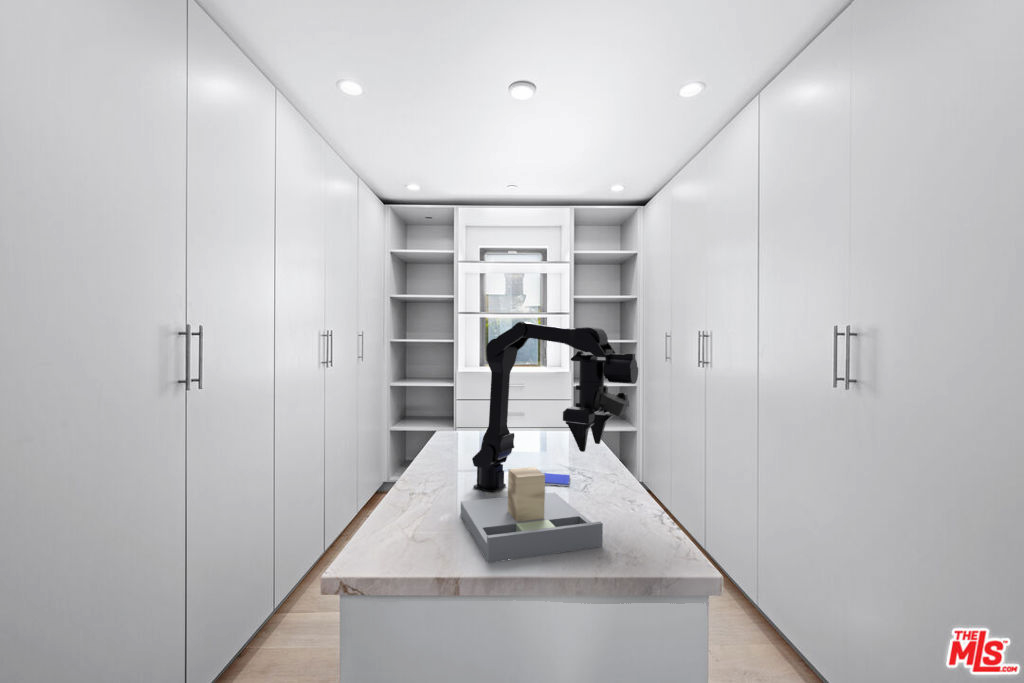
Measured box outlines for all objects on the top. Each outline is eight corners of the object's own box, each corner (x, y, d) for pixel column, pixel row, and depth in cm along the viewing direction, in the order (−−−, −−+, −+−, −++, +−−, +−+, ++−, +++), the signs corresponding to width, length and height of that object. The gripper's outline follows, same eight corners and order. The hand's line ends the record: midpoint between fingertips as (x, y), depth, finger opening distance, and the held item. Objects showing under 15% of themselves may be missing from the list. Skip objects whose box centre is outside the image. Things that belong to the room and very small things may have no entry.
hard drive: (523, 479, 128) (568, 483, 126) (527, 471, 136) (569, 474, 134) (523, 485, 128) (568, 489, 126) (526, 476, 136) (569, 479, 134)
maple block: (507, 510, 100) (508, 468, 100) (533, 507, 102) (534, 466, 102) (516, 521, 94) (517, 477, 94) (544, 518, 96) (545, 474, 96)
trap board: (460, 514, 105) (460, 495, 105) (554, 504, 112) (554, 486, 112) (488, 562, 83) (488, 537, 83) (602, 546, 90) (602, 523, 90)
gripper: (610, 386, 97) (609, 461, 97) (637, 380, 113) (636, 444, 113) (562, 383, 102) (561, 453, 103) (593, 377, 118) (592, 438, 119)
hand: (590, 447), depth 109 cm, fingers open, 9 cm apart
